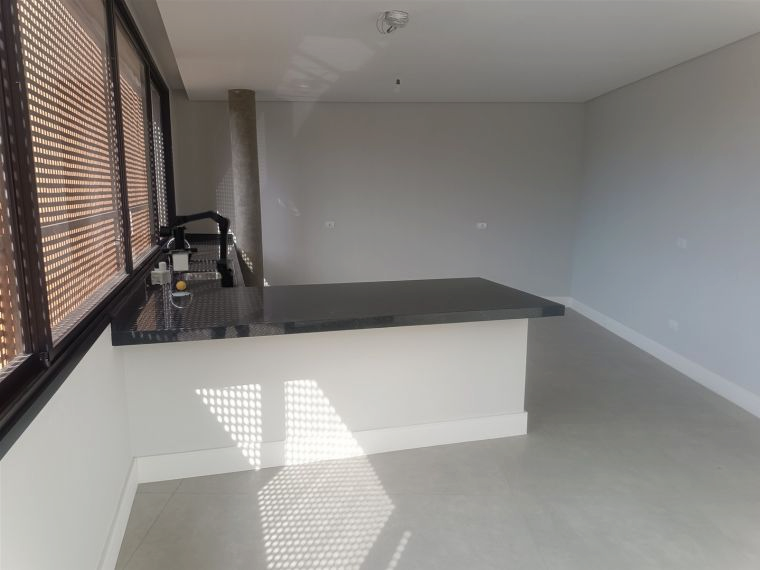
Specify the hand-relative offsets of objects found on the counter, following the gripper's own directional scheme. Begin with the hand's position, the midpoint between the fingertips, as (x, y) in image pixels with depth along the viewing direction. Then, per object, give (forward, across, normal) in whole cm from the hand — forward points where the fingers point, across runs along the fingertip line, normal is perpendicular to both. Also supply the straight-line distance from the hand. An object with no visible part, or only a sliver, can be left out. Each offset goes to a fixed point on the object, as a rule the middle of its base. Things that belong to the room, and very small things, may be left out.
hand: (181, 265), depth 300 cm
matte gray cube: (+2, 0, 0) cm, 3 cm away
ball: (+10, 0, +11) cm, 15 cm away
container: (+13, +12, -14) cm, 23 cm away
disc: (+13, 0, +23) cm, 26 cm away
